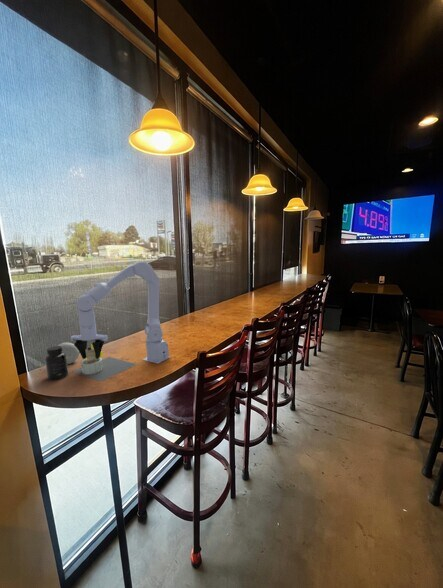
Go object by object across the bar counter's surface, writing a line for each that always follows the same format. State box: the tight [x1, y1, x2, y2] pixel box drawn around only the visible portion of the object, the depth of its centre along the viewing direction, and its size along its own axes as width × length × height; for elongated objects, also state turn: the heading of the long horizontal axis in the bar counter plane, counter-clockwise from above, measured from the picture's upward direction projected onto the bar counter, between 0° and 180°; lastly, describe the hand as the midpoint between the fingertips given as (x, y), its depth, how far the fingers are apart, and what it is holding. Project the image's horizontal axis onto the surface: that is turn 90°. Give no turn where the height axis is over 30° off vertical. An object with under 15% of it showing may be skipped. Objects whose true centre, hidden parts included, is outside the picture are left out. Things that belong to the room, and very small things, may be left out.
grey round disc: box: [57, 341, 80, 365], centre depth 109 cm, size 10×4×10 cm, turn 106°
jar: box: [80, 356, 103, 375], centre depth 101 cm, size 8×8×4 cm
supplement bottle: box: [44, 345, 69, 381], centre depth 97 cm, size 7×7×12 cm
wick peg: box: [86, 346, 96, 364], centre depth 101 cm, size 3×3×9 cm
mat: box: [71, 356, 138, 382], centre depth 104 cm, size 19×17×1 cm
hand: (91, 357), depth 101 cm, fingers open, 5 cm apart
